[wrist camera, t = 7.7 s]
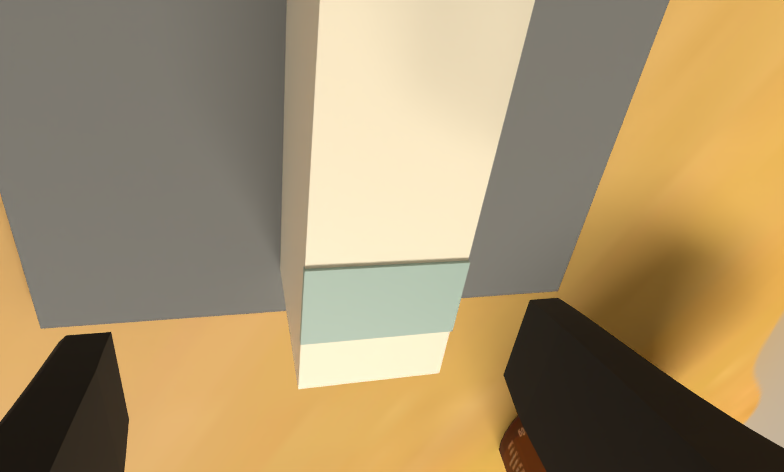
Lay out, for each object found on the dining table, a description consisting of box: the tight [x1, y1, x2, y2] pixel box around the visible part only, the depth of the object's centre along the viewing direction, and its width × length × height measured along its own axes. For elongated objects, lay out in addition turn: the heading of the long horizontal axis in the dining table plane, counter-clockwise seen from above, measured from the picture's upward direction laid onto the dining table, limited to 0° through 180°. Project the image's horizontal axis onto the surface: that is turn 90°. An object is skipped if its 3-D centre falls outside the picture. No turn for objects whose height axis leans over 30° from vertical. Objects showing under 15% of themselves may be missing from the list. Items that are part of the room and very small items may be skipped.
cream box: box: [280, 0, 535, 389], centre depth 15 cm, size 4×11×6 cm, turn 172°
